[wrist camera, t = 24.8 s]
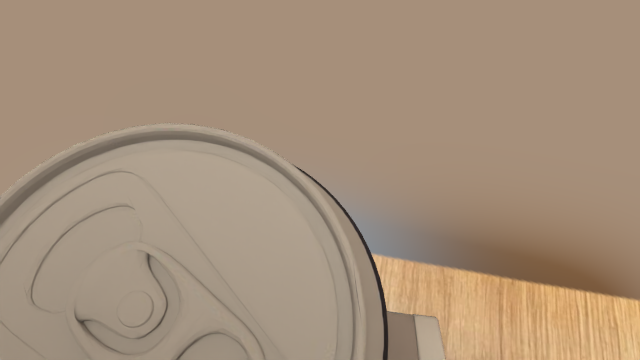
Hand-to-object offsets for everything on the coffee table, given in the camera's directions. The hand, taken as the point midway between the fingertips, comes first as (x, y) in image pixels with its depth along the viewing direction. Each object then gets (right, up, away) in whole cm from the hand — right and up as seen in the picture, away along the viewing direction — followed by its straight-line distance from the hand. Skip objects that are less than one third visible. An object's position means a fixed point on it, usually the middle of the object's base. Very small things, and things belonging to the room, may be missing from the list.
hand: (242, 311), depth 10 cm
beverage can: (0, -3, +6) cm, 7 cm away
